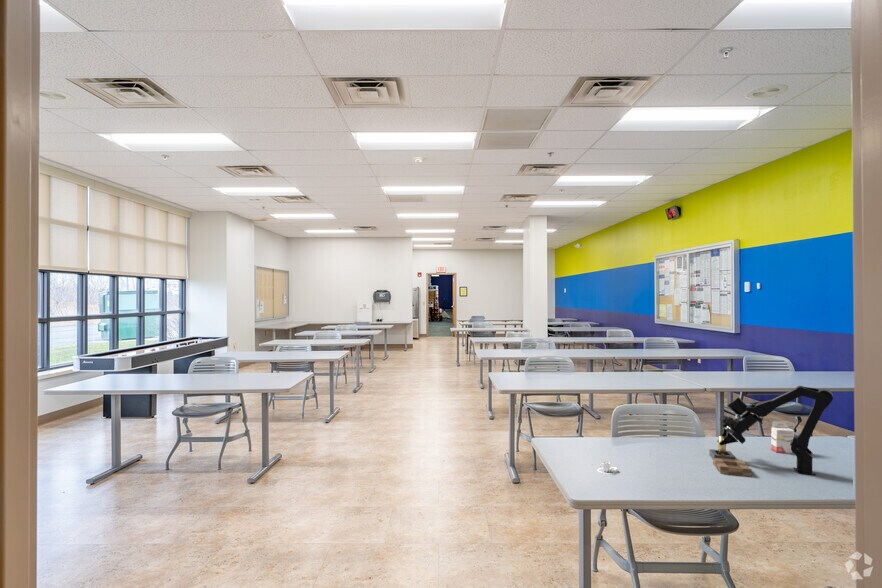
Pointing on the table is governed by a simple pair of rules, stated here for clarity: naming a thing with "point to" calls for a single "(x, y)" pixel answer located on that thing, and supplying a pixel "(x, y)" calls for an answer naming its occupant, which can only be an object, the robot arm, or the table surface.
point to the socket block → (715, 455)
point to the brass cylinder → (721, 446)
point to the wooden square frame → (731, 467)
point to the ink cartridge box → (781, 437)
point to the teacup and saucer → (607, 468)
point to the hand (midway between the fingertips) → (719, 443)
